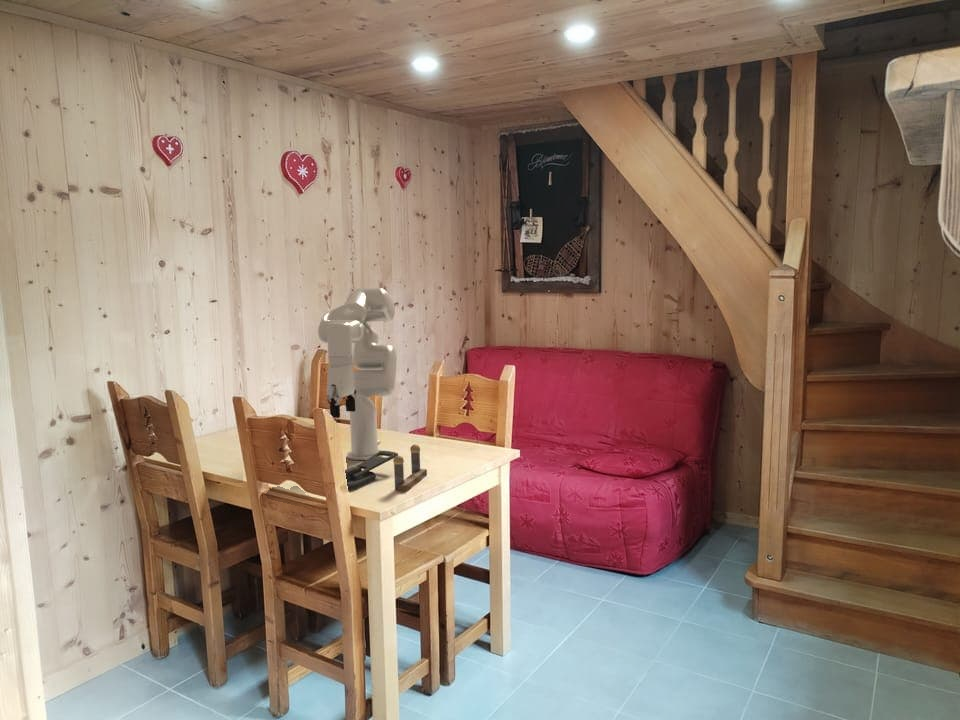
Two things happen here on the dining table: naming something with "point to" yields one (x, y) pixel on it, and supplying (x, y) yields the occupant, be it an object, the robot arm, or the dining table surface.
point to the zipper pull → (366, 470)
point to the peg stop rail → (416, 474)
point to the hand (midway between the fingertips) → (343, 414)
